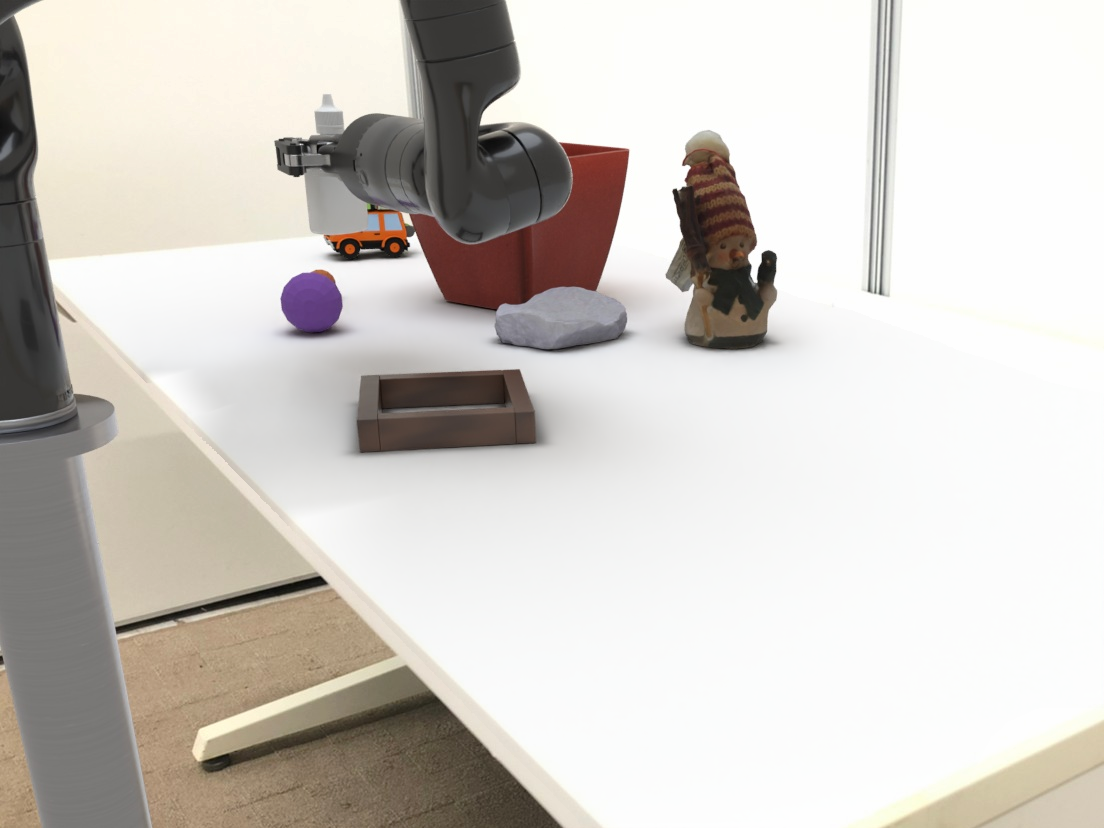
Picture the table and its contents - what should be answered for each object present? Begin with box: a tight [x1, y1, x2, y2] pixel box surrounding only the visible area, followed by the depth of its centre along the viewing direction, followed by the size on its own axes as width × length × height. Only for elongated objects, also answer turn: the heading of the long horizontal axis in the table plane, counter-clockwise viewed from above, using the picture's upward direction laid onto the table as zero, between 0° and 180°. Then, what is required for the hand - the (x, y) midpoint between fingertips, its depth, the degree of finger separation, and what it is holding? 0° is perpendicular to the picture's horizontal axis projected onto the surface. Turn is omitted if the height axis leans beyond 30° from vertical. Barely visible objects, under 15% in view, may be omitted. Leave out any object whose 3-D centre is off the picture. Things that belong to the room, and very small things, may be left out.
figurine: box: [665, 129, 778, 350], centre depth 127 cm, size 13×12×20 cm
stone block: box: [494, 287, 628, 350], centre depth 129 cm, size 12×5×10 cm
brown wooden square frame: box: [356, 368, 537, 453], centre depth 101 cm, size 13×13×2 cm
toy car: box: [322, 203, 416, 260], centre depth 170 cm, size 7×12×9 cm, turn 121°
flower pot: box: [408, 141, 630, 311], centre depth 143 cm, size 19×19×17 cm
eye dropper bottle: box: [303, 93, 368, 236], centre depth 115 cm, size 4×6×12 cm
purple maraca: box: [279, 269, 344, 333], centre depth 135 cm, size 6×6×20 cm
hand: (321, 148), depth 116 cm, fingers closed on eye dropper bottle, 5 cm apart
